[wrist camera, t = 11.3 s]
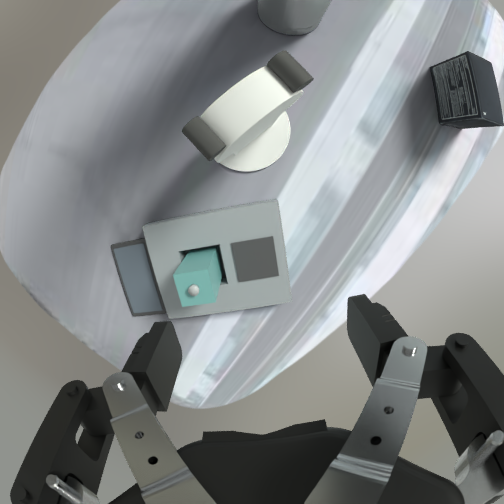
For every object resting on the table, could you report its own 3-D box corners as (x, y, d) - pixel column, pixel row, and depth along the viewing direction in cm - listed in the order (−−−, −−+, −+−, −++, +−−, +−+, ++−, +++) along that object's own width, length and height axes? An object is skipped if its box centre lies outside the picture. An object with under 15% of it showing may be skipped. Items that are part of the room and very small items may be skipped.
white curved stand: (254, 71, 31) (258, 18, 17) (310, 132, 34) (349, 111, 20) (186, 127, 33) (147, 104, 19) (242, 188, 36) (237, 202, 22)
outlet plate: (148, 223, 37) (141, 227, 35) (276, 199, 36) (278, 201, 34) (173, 311, 41) (168, 319, 39) (289, 294, 41) (292, 302, 38)
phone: (135, 313, 42) (132, 316, 41) (113, 243, 39) (110, 245, 38) (167, 310, 42) (166, 313, 41) (147, 236, 38) (144, 238, 37)
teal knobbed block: (189, 251, 38) (171, 276, 29) (216, 246, 38) (207, 271, 29) (195, 277, 39) (181, 309, 30) (222, 273, 39) (215, 304, 30)
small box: (464, 130, 33) (506, 128, 23) (438, 124, 33) (481, 119, 23) (455, 74, 30) (493, 62, 20) (428, 65, 30) (466, 49, 20)
